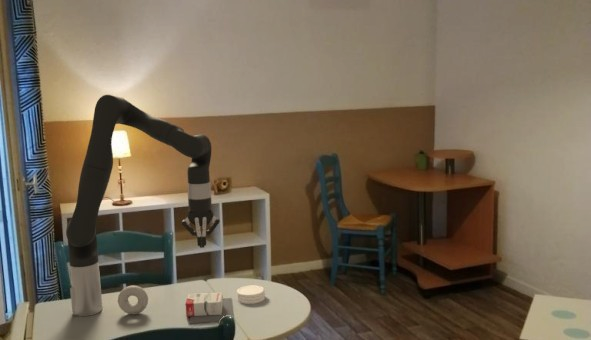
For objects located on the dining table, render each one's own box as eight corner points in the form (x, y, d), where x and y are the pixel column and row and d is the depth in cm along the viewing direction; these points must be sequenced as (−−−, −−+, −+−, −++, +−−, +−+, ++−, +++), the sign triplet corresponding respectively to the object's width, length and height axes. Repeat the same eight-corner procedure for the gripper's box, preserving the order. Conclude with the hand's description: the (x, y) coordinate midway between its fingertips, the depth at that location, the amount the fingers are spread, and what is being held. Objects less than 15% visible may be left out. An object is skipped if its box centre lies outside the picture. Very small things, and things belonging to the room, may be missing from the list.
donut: (150, 311, 193) (148, 283, 191) (148, 315, 189) (146, 286, 188) (120, 312, 192) (117, 284, 190) (117, 316, 189) (115, 288, 187)
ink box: (185, 317, 186) (221, 315, 186) (185, 303, 185) (221, 301, 186) (189, 306, 194) (223, 305, 195) (188, 293, 194) (222, 291, 194)
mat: (190, 323, 182) (190, 322, 182) (191, 302, 199) (191, 301, 199) (233, 320, 184) (233, 318, 184) (231, 299, 201) (231, 297, 201)
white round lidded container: (233, 303, 198) (232, 294, 197) (242, 293, 207) (242, 283, 207) (260, 305, 195) (260, 296, 195) (268, 294, 205) (268, 285, 204)
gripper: (178, 199, 180) (181, 251, 183) (220, 197, 182) (222, 249, 185) (179, 194, 187) (182, 245, 190) (219, 192, 189) (221, 242, 192)
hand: (202, 246), depth 187 cm, fingers closed
